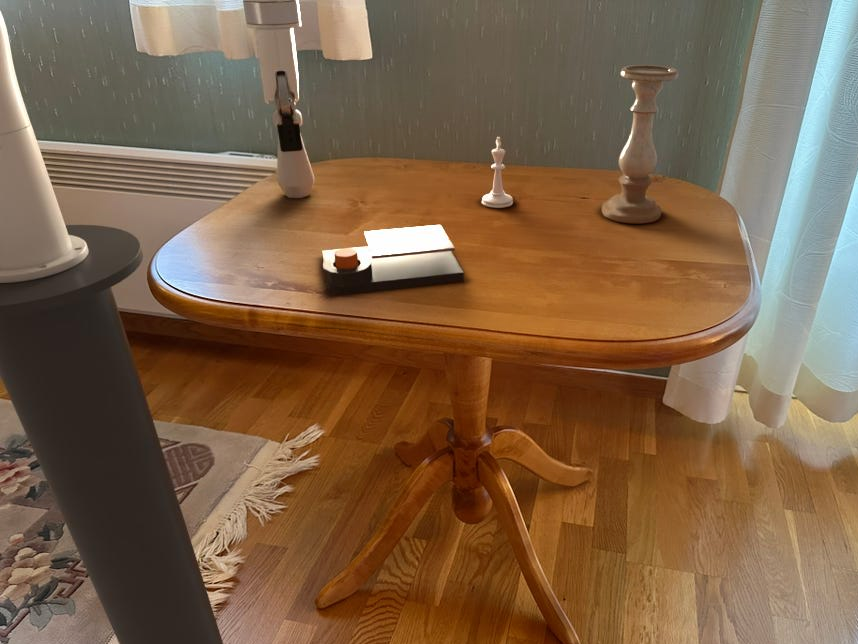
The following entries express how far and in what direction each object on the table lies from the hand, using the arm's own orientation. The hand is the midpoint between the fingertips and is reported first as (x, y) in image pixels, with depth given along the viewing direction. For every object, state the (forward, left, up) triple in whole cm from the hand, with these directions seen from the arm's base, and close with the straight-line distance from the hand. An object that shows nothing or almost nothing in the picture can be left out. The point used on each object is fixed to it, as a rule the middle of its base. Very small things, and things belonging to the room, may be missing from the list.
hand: (291, 145), depth 105 cm
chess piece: (+30, -12, -8) cm, 33 cm away
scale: (+10, -33, -8) cm, 35 cm away
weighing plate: (+13, -32, -5) cm, 35 cm away
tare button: (+5, -37, -5) cm, 37 cm away
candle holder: (+48, -22, -8) cm, 53 cm away
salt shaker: (0, 0, -8) cm, 8 cm away
